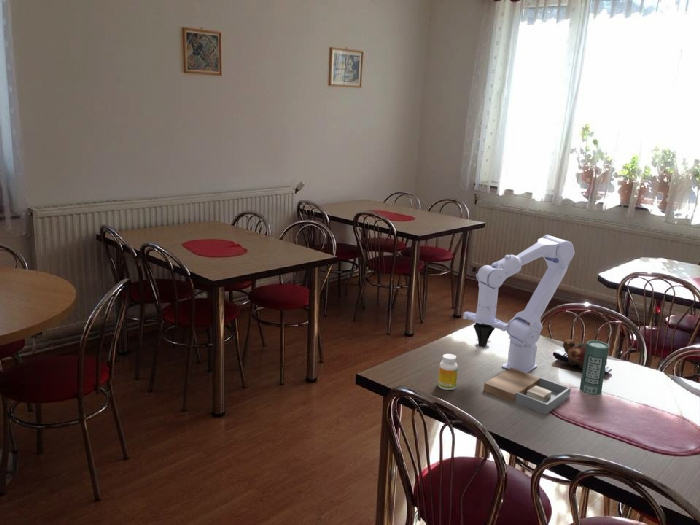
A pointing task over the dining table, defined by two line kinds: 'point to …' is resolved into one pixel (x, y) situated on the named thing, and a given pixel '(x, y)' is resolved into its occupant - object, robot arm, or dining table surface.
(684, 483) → the dining table surface
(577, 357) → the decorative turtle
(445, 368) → the supplement bottle
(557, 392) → the box
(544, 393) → the wooden tile
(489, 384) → the wooden board
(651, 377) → the dining table surface
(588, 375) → the can
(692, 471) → the dining table surface
